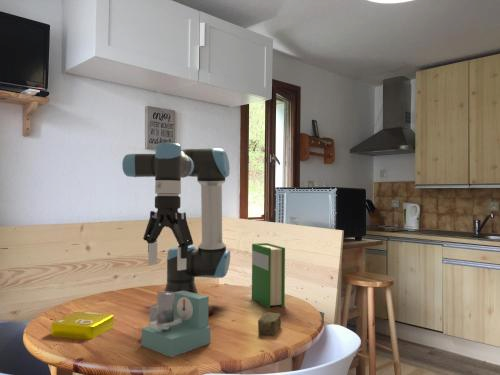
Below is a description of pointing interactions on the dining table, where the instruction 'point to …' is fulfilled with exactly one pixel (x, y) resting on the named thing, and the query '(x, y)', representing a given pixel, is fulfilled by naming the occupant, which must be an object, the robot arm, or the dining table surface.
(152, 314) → the cylinder
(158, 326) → the platform
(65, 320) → the element tile
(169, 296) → the cylinder
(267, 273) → the hardback book
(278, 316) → the stone block
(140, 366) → the dining table surface
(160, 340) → the scale body
